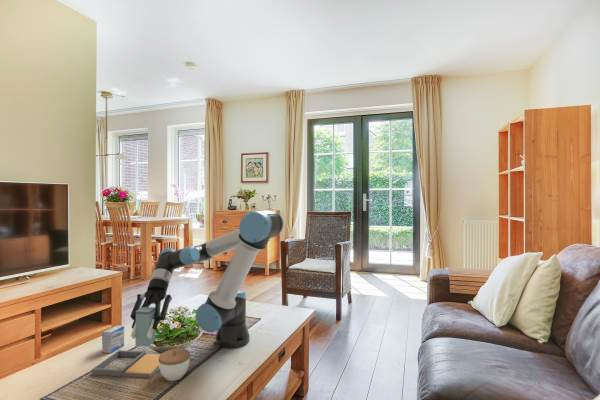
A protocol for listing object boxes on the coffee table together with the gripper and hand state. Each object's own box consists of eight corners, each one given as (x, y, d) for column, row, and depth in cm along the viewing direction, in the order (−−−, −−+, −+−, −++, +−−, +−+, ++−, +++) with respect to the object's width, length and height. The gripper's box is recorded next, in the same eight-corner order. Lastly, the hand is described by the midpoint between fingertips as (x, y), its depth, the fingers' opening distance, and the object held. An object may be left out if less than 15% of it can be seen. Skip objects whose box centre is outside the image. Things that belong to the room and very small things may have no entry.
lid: (171, 357, 137) (171, 354, 137) (151, 377, 122) (151, 374, 122) (145, 356, 138) (145, 353, 138) (122, 376, 123) (122, 372, 123)
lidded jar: (158, 387, 116) (158, 359, 116) (158, 372, 126) (158, 346, 126) (191, 380, 120) (191, 354, 120) (188, 366, 130) (188, 342, 130)
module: (155, 340, 133) (155, 307, 133) (148, 346, 127) (148, 311, 127) (142, 340, 133) (142, 306, 133) (135, 345, 128) (135, 311, 128)
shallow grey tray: (146, 356, 138) (146, 351, 138) (123, 376, 123) (123, 370, 123) (118, 355, 139) (118, 350, 139) (91, 374, 124) (92, 369, 124)
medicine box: (111, 353, 140) (111, 332, 140) (101, 352, 141) (101, 331, 141) (124, 345, 148) (124, 325, 148) (115, 344, 149) (115, 324, 149)
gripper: (183, 287, 145) (168, 341, 129) (140, 286, 145) (119, 341, 129) (179, 277, 140) (162, 333, 124) (134, 277, 140) (112, 332, 124)
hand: (140, 337), depth 126 cm, fingers closed on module, 5 cm apart
